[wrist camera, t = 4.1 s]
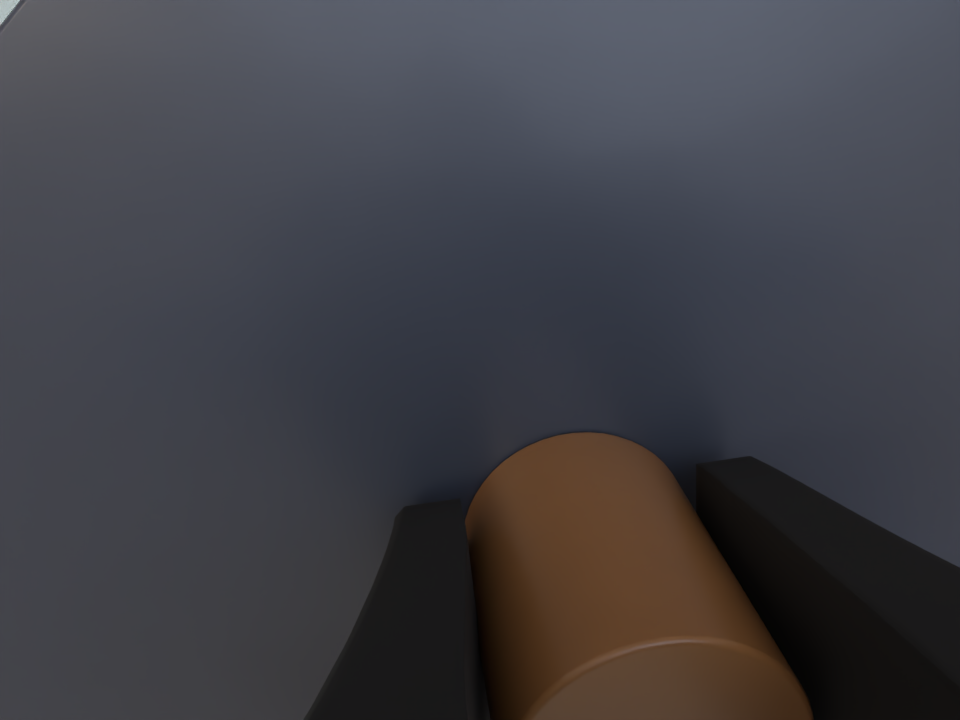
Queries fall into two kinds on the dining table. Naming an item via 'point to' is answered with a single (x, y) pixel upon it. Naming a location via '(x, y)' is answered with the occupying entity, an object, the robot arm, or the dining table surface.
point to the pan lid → (457, 332)
